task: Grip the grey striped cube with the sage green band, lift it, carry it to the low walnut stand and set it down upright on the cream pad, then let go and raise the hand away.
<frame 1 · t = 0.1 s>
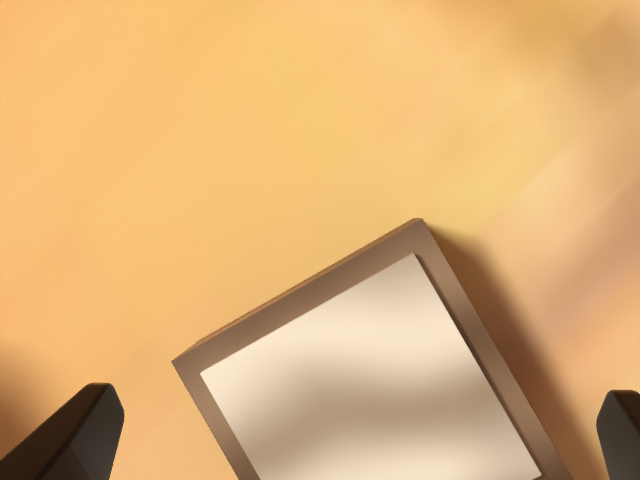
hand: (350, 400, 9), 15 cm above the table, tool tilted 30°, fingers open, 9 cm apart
stand: (366, 389, 24), on the table
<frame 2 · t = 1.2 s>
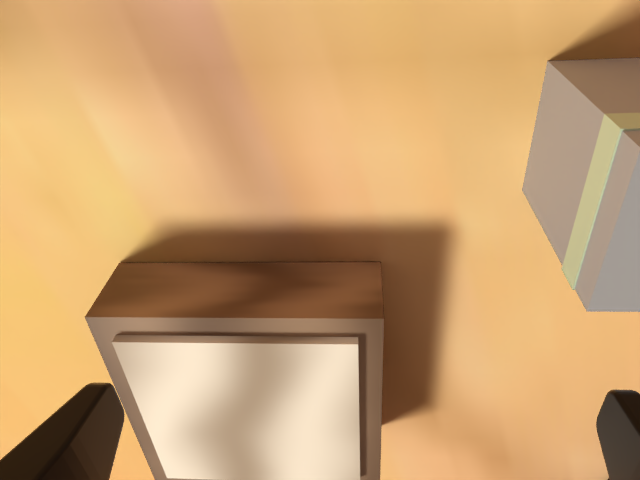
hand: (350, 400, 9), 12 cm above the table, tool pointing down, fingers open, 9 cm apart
stand: (262, 354, 26), on the table
grey striped cube: (604, 128, 18), on the table
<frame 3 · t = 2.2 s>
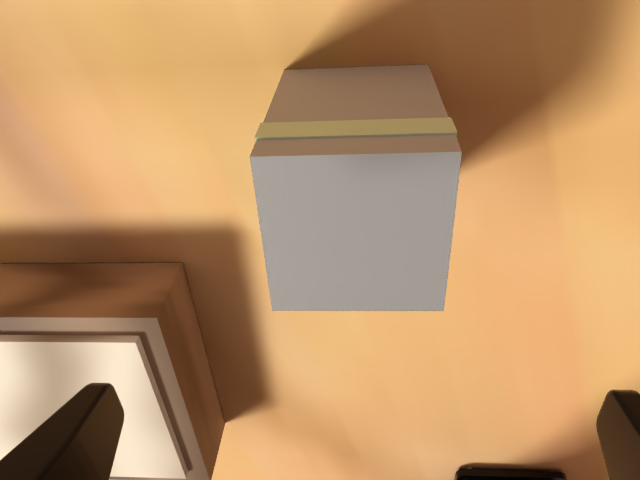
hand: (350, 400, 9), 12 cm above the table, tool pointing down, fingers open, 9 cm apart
stand: (96, 352, 27), on the table
grey striped cube: (356, 134, 19), on the table
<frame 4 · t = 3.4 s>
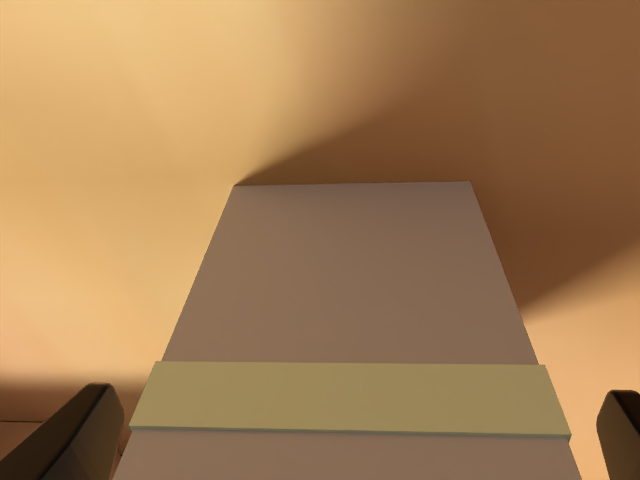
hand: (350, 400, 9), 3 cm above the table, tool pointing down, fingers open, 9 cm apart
grey striped cube: (352, 274, 12), on the table
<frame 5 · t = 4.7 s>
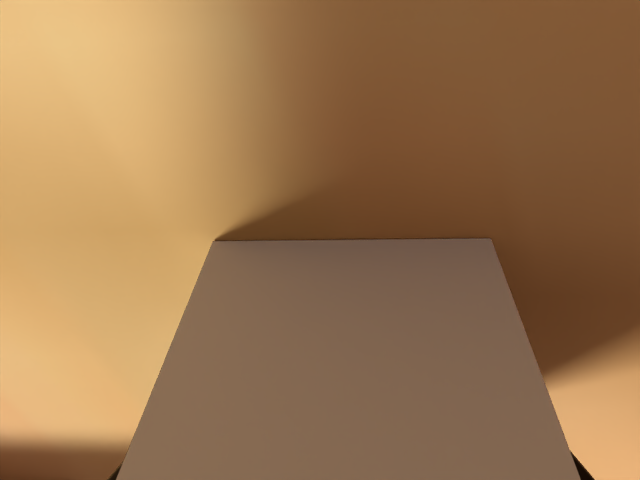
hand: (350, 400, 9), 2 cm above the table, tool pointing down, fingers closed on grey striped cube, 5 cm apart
grey striped cube: (351, 338, 11), on the table, touching gripper
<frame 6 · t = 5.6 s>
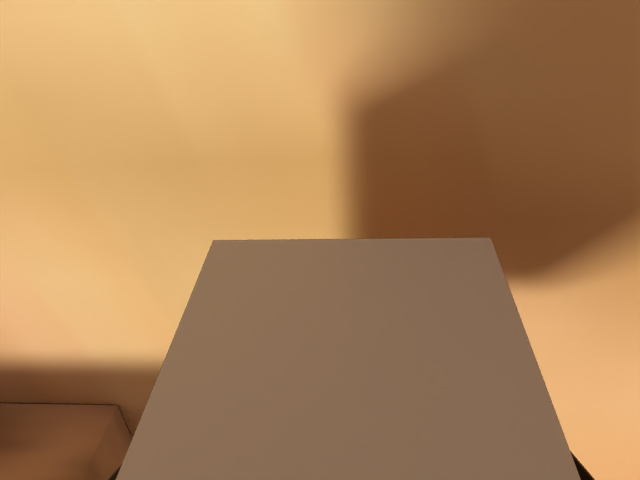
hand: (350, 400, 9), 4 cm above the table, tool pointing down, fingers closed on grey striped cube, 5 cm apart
grey striped cube: (351, 337, 11), point 3 cm above the table, touching gripper
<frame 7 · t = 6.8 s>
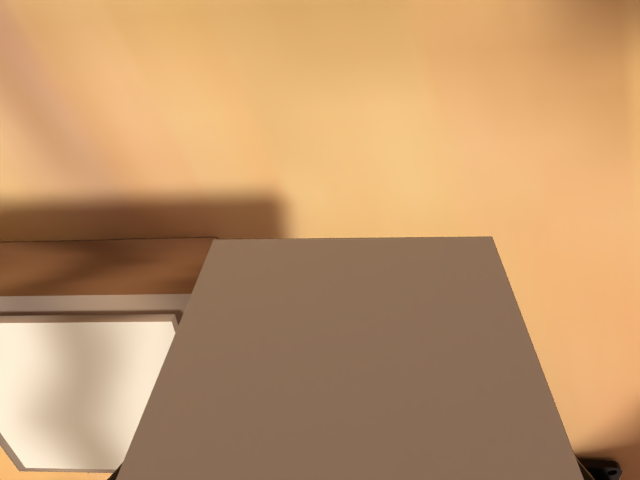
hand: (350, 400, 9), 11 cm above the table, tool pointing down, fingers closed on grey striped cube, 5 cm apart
stand: (122, 338, 25), on the table
grey striped cube: (352, 336, 11), point 10 cm above the table, touching gripper
when the fingers open (7 cm above the table, at t = 9.7 s): grey striped cube drops 1 cm, resting on stand.
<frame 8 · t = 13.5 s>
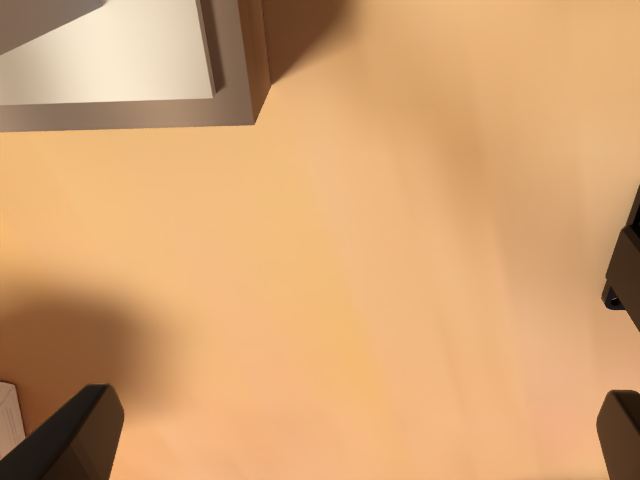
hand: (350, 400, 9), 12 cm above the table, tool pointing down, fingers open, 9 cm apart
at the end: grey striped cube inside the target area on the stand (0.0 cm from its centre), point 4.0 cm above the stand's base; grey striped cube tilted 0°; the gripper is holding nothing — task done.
